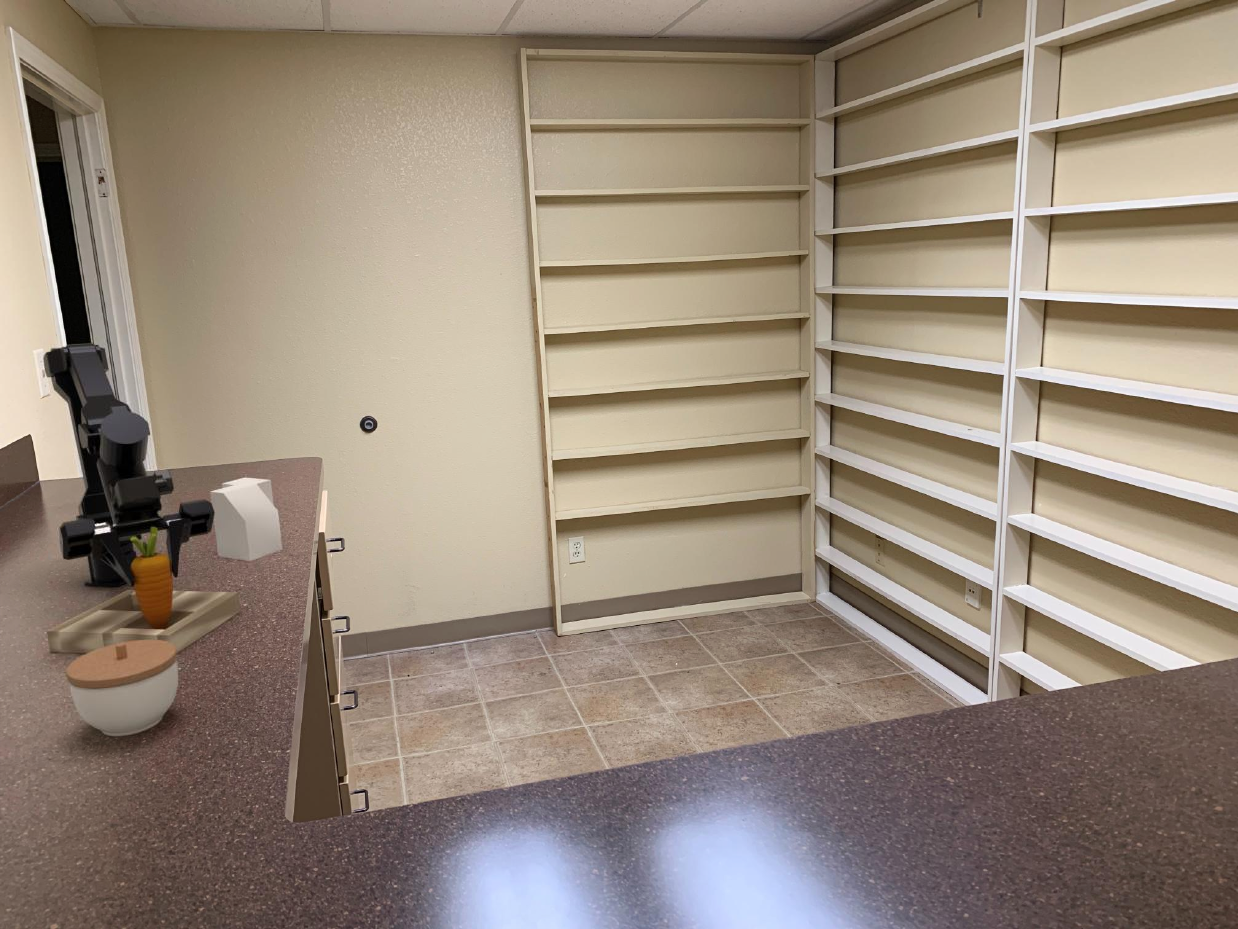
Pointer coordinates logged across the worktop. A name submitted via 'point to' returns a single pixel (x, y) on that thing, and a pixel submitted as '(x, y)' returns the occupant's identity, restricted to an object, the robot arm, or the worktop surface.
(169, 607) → the carrot
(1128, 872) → the worktop surface
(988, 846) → the worktop surface
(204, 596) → the socket board
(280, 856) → the worktop surface
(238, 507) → the white angular block
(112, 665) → the lidded jar
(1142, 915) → the worktop surface
